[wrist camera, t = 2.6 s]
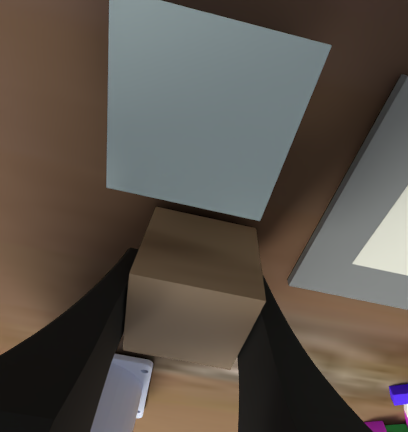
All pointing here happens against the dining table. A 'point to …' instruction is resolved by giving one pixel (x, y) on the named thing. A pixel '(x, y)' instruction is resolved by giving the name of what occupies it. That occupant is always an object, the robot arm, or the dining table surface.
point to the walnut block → (193, 289)
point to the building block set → (399, 396)
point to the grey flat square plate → (366, 219)
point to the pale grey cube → (203, 105)
